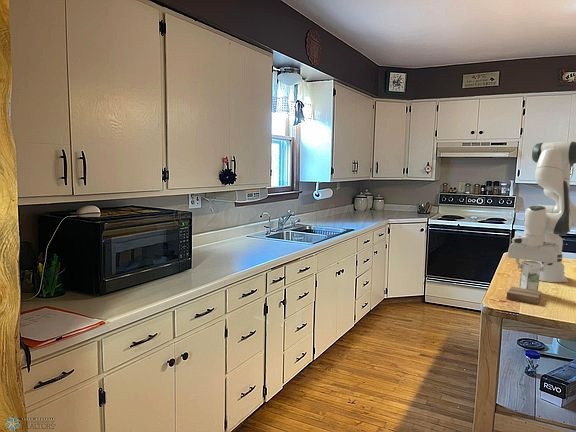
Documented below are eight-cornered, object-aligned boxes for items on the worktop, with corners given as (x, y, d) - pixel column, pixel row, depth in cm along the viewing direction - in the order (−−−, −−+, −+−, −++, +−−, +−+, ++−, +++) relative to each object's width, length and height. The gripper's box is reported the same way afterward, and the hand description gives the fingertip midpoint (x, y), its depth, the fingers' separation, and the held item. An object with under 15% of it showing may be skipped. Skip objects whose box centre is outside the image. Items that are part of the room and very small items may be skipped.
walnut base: (511, 292, 200) (511, 286, 199) (540, 298, 193) (541, 291, 192) (506, 298, 190) (506, 292, 190) (537, 304, 183) (537, 298, 183)
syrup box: (530, 289, 206) (533, 260, 204) (538, 293, 200) (541, 263, 198) (519, 289, 205) (521, 260, 204) (526, 293, 200) (529, 262, 198)
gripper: (560, 242, 196) (557, 272, 198) (510, 237, 208) (508, 264, 210) (559, 244, 191) (555, 274, 193) (508, 238, 203) (505, 267, 205)
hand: (530, 269), depth 201 cm, fingers closed on syrup box, 8 cm apart
